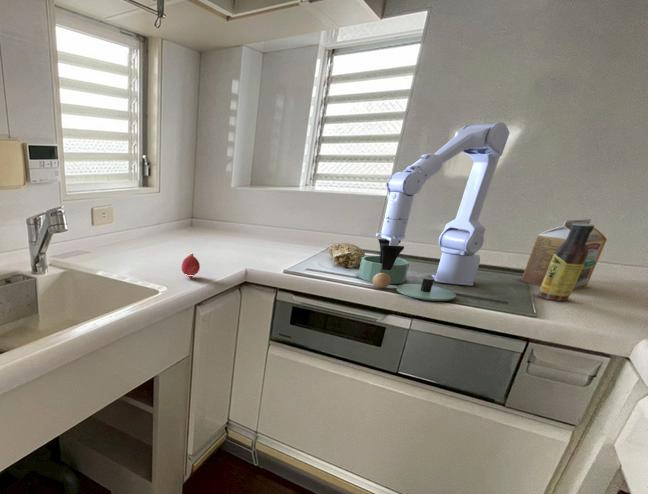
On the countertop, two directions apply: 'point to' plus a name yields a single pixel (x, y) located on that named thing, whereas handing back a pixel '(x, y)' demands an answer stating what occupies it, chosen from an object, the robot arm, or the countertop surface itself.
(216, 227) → the countertop surface
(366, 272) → the green faceted bin
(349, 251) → the tan brown irregular lump
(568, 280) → the sauce bottle
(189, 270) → the onion
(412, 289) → the bin lid
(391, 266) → the robot arm
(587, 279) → the milk carton
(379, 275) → the orange brown ball
